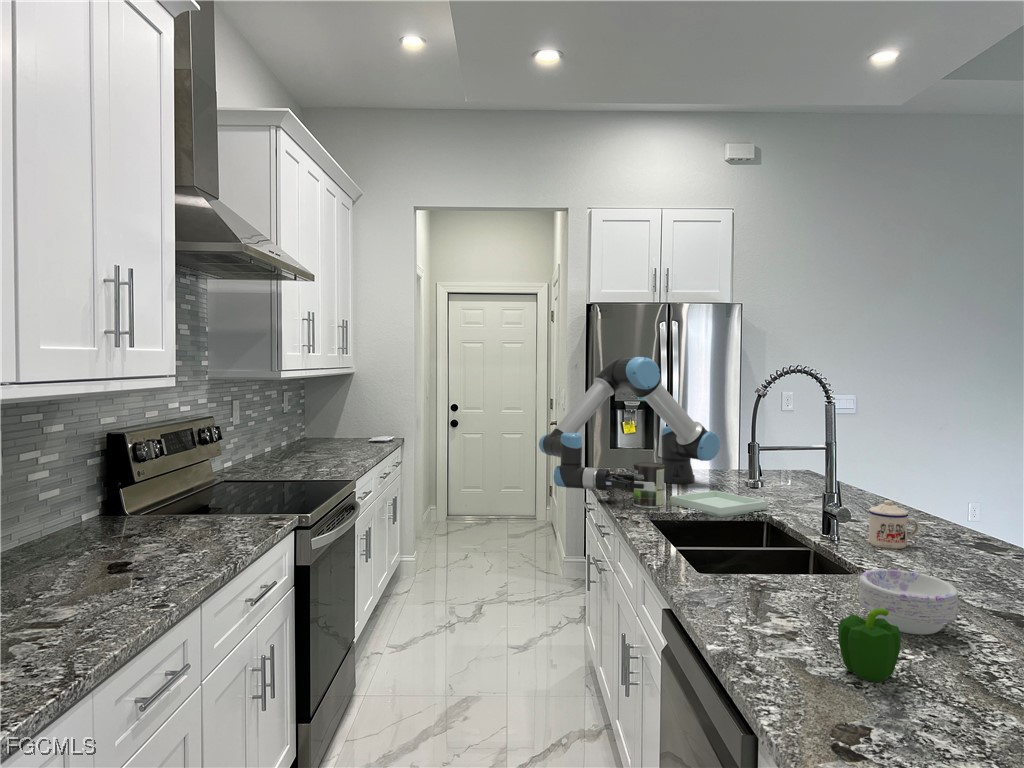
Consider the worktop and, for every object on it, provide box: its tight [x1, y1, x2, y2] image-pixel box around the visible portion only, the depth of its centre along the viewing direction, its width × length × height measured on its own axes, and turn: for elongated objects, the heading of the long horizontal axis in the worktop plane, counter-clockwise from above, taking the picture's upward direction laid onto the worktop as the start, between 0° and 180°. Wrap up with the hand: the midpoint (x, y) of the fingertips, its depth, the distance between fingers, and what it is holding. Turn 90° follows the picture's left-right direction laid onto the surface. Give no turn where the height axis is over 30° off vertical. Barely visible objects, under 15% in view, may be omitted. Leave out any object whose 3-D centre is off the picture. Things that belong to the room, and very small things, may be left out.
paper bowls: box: [858, 569, 959, 636], centre depth 117 cm, size 15×15×8 cm
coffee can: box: [632, 461, 665, 509], centre depth 221 cm, size 10×10×14 cm
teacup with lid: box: [868, 499, 920, 550], centre depth 171 cm, size 12×9×12 cm
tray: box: [669, 490, 769, 518], centre depth 218 cm, size 22×22×3 cm
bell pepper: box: [837, 608, 902, 683], centre depth 97 cm, size 8×8×10 cm
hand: (658, 483), depth 219 cm, fingers open, 13 cm apart
